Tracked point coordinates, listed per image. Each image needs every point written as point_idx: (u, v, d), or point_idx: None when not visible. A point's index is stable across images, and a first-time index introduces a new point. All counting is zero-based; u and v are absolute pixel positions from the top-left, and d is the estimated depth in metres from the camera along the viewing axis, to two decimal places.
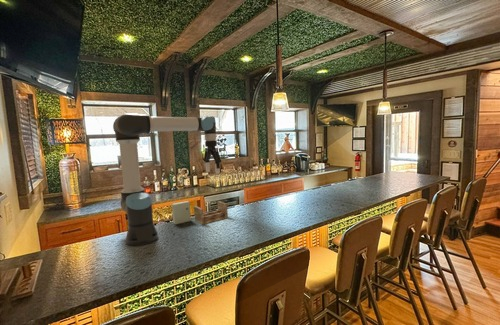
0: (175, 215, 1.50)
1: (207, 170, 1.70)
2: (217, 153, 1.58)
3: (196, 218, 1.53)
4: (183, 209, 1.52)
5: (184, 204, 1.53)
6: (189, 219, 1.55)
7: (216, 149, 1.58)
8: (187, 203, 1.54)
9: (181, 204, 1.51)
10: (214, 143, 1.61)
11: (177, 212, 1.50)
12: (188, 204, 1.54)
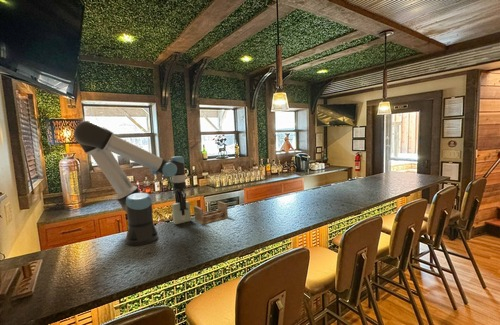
0: (175, 215, 1.50)
1: None
2: (184, 200, 1.48)
3: (196, 218, 1.53)
4: None
5: None
6: (189, 219, 1.55)
7: (184, 196, 1.47)
8: (187, 203, 1.54)
9: None
10: (182, 185, 1.49)
11: (177, 212, 1.50)
12: (188, 204, 1.54)
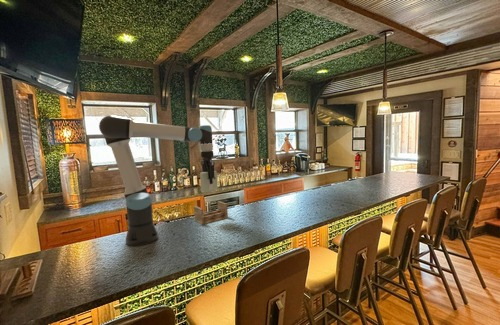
0: (203, 183, 1.51)
1: None
2: (212, 168, 1.49)
3: (196, 218, 1.53)
4: None
5: None
6: (216, 188, 1.56)
7: (212, 164, 1.48)
8: (215, 172, 1.55)
9: None
10: (210, 154, 1.50)
11: (205, 181, 1.52)
12: (215, 173, 1.55)
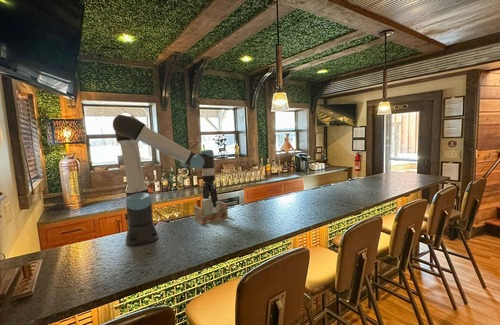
0: (205, 211, 1.52)
1: None
2: (215, 191, 1.50)
3: (196, 218, 1.53)
4: None
5: None
6: None
7: (214, 187, 1.49)
8: None
9: (211, 200, 1.54)
10: (212, 178, 1.52)
11: (207, 208, 1.53)
12: None
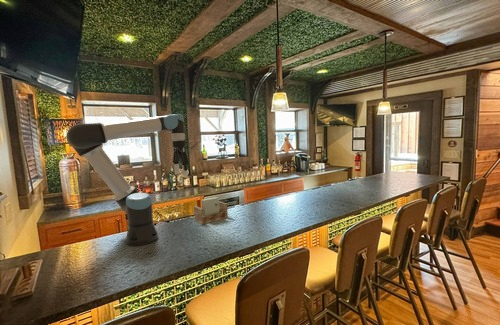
0: (205, 211, 1.52)
1: (176, 172, 1.58)
2: (184, 154, 1.46)
3: (196, 218, 1.53)
4: (213, 205, 1.55)
5: (213, 200, 1.55)
6: None
7: (183, 150, 1.46)
8: (216, 199, 1.56)
9: (211, 200, 1.54)
10: (182, 143, 1.49)
11: (207, 208, 1.53)
12: (217, 200, 1.57)
